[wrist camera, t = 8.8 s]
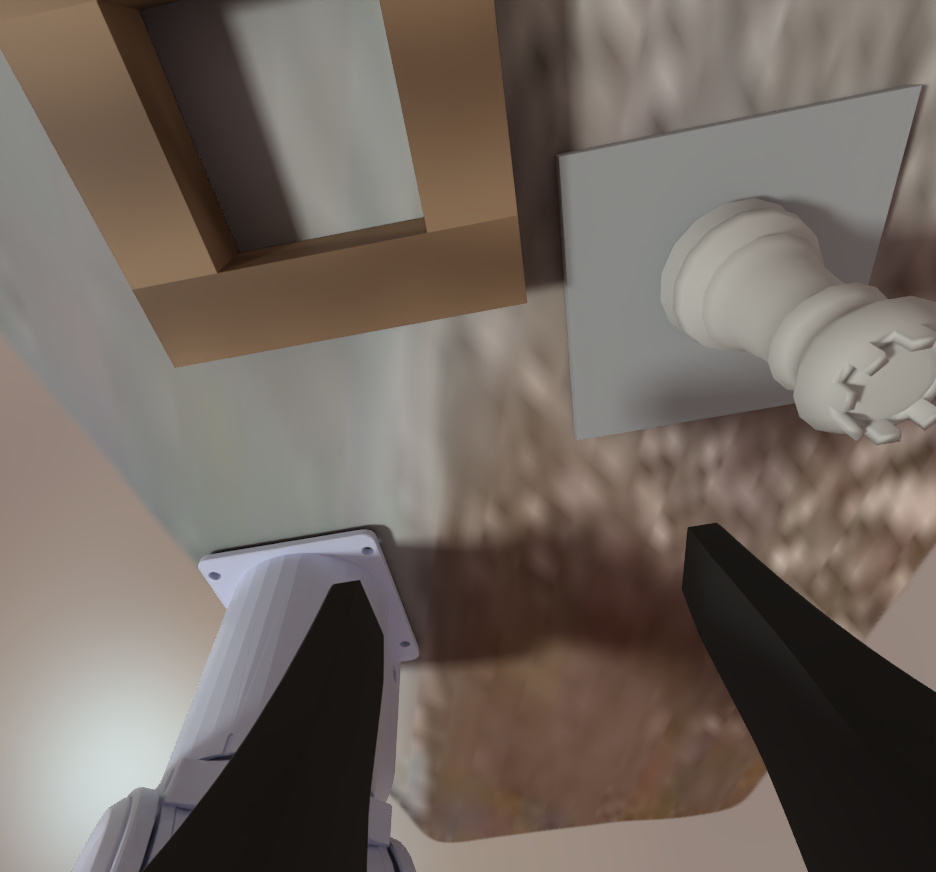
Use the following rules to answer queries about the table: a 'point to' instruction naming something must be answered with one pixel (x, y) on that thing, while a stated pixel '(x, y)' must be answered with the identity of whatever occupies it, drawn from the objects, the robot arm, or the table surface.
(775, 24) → the table surface
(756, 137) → the slate mat
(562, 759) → the table surface
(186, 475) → the table surface
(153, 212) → the square wooden frame
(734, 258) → the rook chess piece
